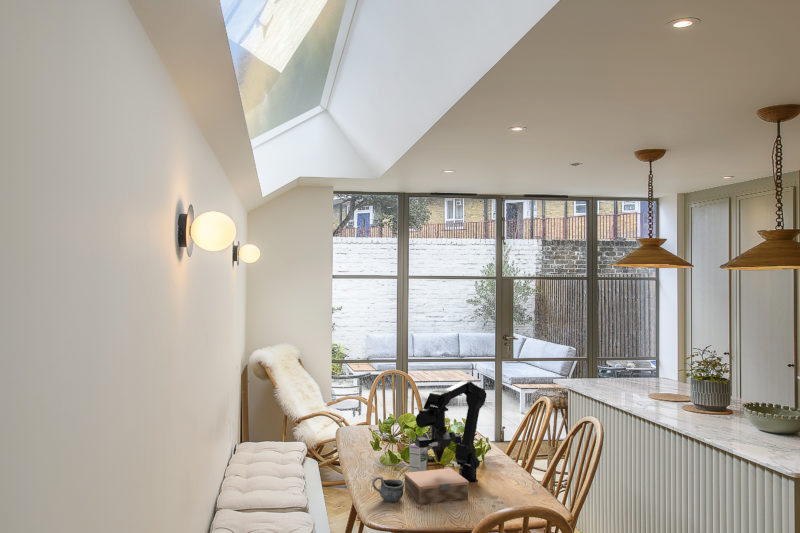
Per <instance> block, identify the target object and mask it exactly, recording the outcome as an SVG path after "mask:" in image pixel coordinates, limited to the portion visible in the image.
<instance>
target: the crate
mask: <svg viewBox="0 0 800 533" xmlns="http://www.w3.org/2000/svg"><path fill="white" fill-rule="evenodd" d="M404 491H405V492H406V493H407V494H408V495H409V497H410V498H412V500H414V501H415V502H416V504H418V505H419V506H427V505H435V504H436V503H437V504H446V503H453V502H461V501H469V484H466V485H457V486H450V489H446V490H440V487H439V488H430V489H419V488H417V487H416V486H415V485H414V484H413V483H412V482H411V481H410V480H409V479H408V478H407V477H406V476H405V475H404ZM445 502H446V503H445Z"/></svg>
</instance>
